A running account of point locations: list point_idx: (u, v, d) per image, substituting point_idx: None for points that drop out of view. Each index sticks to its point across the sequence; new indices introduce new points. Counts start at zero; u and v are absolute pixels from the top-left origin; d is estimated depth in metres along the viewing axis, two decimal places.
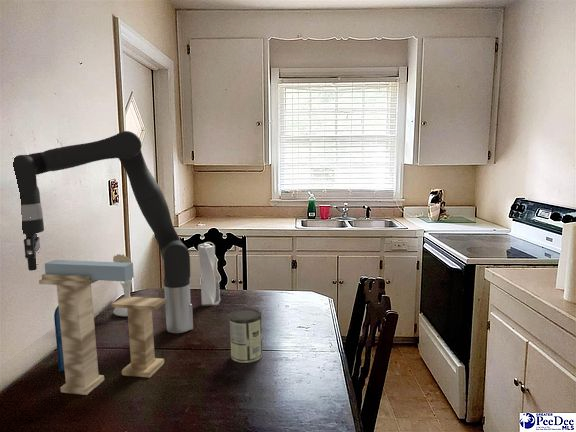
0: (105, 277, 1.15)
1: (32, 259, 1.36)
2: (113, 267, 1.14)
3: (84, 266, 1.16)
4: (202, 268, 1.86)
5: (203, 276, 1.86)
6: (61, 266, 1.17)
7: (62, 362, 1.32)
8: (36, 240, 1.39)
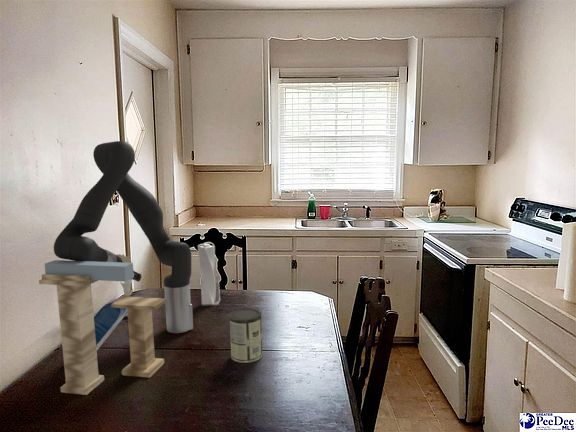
0: (106, 277, 1.15)
1: None
2: (113, 267, 1.14)
3: (84, 266, 1.16)
4: (202, 268, 1.86)
5: (203, 276, 1.86)
6: (61, 267, 1.17)
7: None
8: None
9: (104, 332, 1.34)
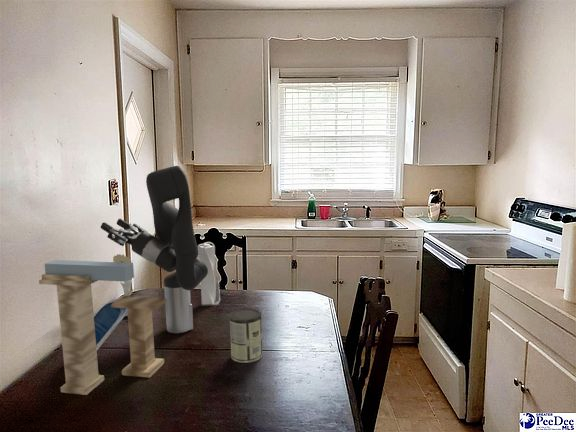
0: (106, 277, 1.15)
1: None
2: (113, 267, 1.14)
3: (84, 266, 1.15)
4: None
5: None
6: (61, 267, 1.17)
7: None
8: None
9: (104, 332, 1.34)
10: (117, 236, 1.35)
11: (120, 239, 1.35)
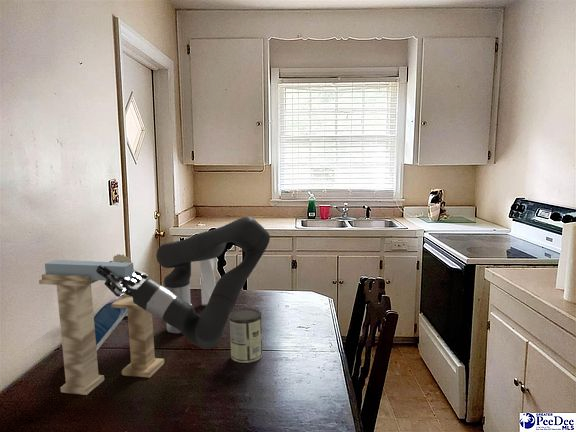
0: None
1: None
2: (113, 267, 1.14)
3: (84, 266, 1.15)
4: (202, 268, 1.86)
5: (203, 276, 1.86)
6: (62, 266, 1.17)
7: None
8: None
9: (104, 332, 1.34)
10: (113, 284, 1.10)
11: (116, 288, 1.09)
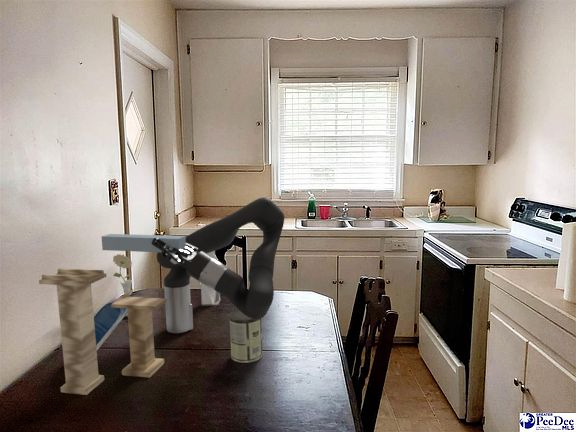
0: None
1: None
2: (168, 239, 1.20)
3: (140, 239, 1.22)
4: None
5: None
6: (118, 239, 1.23)
7: None
8: None
9: (104, 332, 1.34)
10: (169, 254, 1.16)
11: (172, 258, 1.16)
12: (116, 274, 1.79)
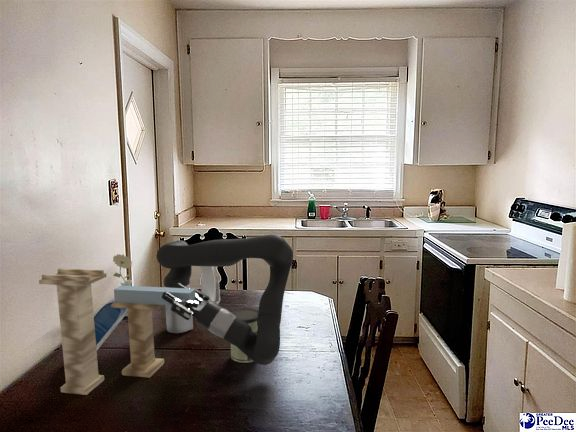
0: None
1: None
2: (179, 293, 1.25)
3: (151, 292, 1.26)
4: (202, 268, 1.86)
5: (203, 276, 1.86)
6: (130, 292, 1.28)
7: None
8: None
9: (104, 332, 1.34)
10: (182, 309, 1.20)
11: (185, 313, 1.19)
12: (116, 274, 1.79)
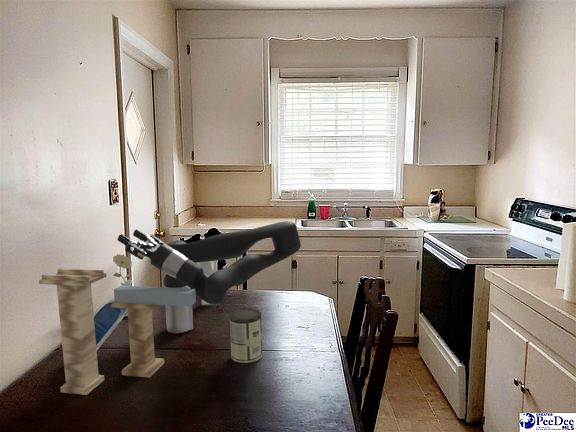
0: (171, 302, 1.25)
1: None
2: (179, 293, 1.25)
3: (151, 292, 1.26)
4: (202, 268, 1.86)
5: None
6: (130, 292, 1.28)
7: None
8: None
9: (104, 332, 1.34)
10: (136, 249, 1.27)
11: (139, 252, 1.27)
12: (116, 274, 1.79)
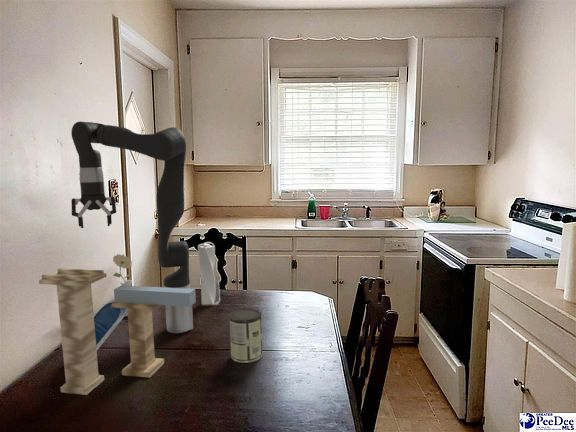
0: (171, 302, 1.25)
1: None
2: (179, 293, 1.25)
3: (151, 292, 1.26)
4: (202, 268, 1.86)
5: (203, 276, 1.86)
6: (130, 292, 1.28)
7: None
8: None
9: (104, 332, 1.34)
10: None
11: None
12: (116, 274, 1.79)
